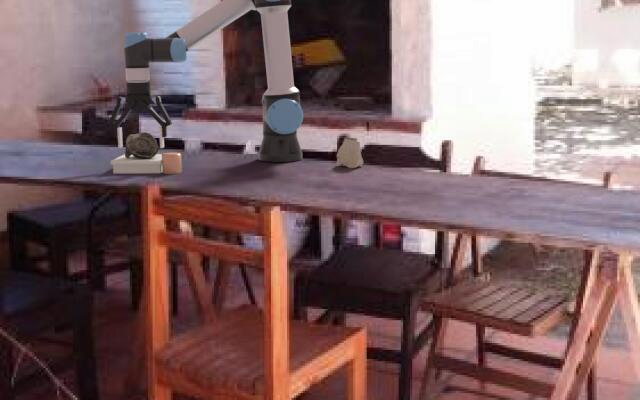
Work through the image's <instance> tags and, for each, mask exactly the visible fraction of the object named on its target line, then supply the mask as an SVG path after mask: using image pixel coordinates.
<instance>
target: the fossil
mask: <svg viewBox="0 0 640 400" xmlns="http://www.w3.org/2000/svg"><path fill="white" fill-rule="evenodd" d="M157 142H158V141H157V140H156V138H155V137H154V136H153V135H152V134H151V133H150V132H146V131H145V132H144V131H142V132H139V133H136V134H134V133H133V134H129V135H128V136H127V137H126V140H125V153H124V154H125V157H126V158H129V157H130V156H131V155H133V156H135V157H136V158H140V159H150V158H152V157H154V156H155V155H156V154H158V152H159V149H160V146H159V145H158V143H157Z"/></svg>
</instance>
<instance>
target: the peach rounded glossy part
mask: <svg viewBox="0 0 640 400" xmlns="http://www.w3.org/2000/svg"><path fill="white" fill-rule="evenodd" d="M161 154H162V169H163V172H162V174H165V175H175V174H176V175H177V174H181V173H183V171H182V169H183V168H182V166H183V165H182V153H181V152H164V153H161Z"/></svg>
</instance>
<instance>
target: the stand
mask: <svg viewBox="0 0 640 400" xmlns="http://www.w3.org/2000/svg"><path fill="white" fill-rule="evenodd" d="M162 154H163V153H157V154H156V155H155V156H154V157H152V158H150V159H140V158H136V157H135V156H133V155H131V156H130V157H129V158H126V157H125V153H124V154H122V155H120V156H118V157H116V158H114V159H112V160H110V165H112V173H113V174H161V173H163V169H162ZM113 174H112V175H113Z"/></svg>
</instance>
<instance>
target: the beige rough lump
mask: <svg viewBox="0 0 640 400" xmlns="http://www.w3.org/2000/svg"><path fill="white" fill-rule="evenodd" d="M336 159H337V160H336V165H338V166H339V167H341V166H343V167H344V166H345V167H347V168H349V169H357V167H359V168H361V167H362V166H363V164H364V159H363V157H362V152H361V141H360V139H359V138H356V137H345V138H344V140H343V141H342V144H341V145H340V147H339V149H338V151H337V154H336Z"/></svg>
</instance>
